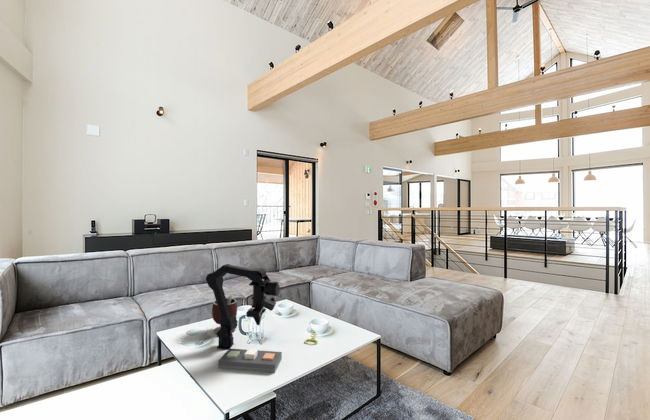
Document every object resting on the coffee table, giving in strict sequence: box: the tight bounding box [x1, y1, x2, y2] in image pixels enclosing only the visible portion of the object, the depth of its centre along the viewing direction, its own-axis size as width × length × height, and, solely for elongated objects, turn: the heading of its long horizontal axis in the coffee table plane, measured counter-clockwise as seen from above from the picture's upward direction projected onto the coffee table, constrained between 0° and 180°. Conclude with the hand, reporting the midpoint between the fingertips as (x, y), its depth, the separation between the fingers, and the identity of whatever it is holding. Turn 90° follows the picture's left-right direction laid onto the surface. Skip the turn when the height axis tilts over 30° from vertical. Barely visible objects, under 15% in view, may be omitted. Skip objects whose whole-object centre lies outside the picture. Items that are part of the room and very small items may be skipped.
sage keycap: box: [227, 351, 240, 358], centre depth 144 cm, size 5×5×2 cm
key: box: [304, 332, 319, 346], centre depth 169 cm, size 7×12×2 cm, turn 4°
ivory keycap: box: [244, 348, 259, 359], centre depth 143 cm, size 5×5×2 cm
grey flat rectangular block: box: [217, 347, 283, 374], centre depth 143 cm, size 26×12×4 cm, turn 84°
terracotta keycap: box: [263, 353, 275, 361], centre depth 142 cm, size 5×5×2 cm
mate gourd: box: [211, 292, 238, 335], centre depth 181 cm, size 16×14×20 cm
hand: (258, 325), depth 156 cm, fingers closed
